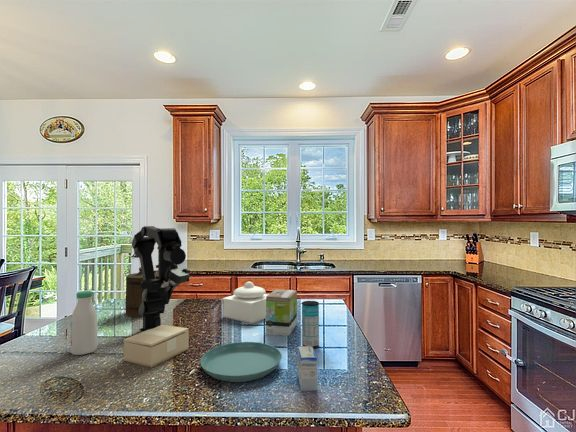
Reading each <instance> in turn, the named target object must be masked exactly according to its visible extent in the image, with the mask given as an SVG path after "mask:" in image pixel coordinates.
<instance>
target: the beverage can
mask: <svg viewBox="0 0 576 432" xmlns="http://www.w3.org/2000/svg"><path fill="white" fill-rule="evenodd" d="M319 304H320V303H319V301H316V300H305V301H302V302H301V333H302V334H301V343H302V344H301V345H302V347H305V346H309V347H313V349H315V348H318V347H319V344H320V305H319Z"/></svg>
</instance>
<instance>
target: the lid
mask: <svg viewBox="0 0 576 432" xmlns="http://www.w3.org/2000/svg"><path fill="white" fill-rule="evenodd" d="M185 331H189V328H188V327H182V326H173V325H166V324H161V326H158V327H155V328H153V329H150V330H146V331H141V332H139V333H137V334H135V335H132V336H129V337H127V338H124V339H123V342H124V341H125V342H131V343H137V344H143V345H149V346H153V345H155V344H158V343H160V342H162V341H165V340H167V339H169V338H172V337H174V336H176V335H178V334H181V333H183V332H185Z"/></svg>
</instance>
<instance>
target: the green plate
mask: <svg viewBox="0 0 576 432" xmlns="http://www.w3.org/2000/svg"><path fill="white" fill-rule="evenodd" d="M200 358H201V359H200V365H201V368H202V369H203V371H204V372H205V373H206V374H207V375H209V377H211V378H214V379H217V380H219V381H223V382H230V383H244V382H251V381H254V380H255V381H256V380H258V379H261V378H263V377H265V376H267V375H269V374H270V373H272V372H273V371H274V370H275V369H277V367H278V366H279V364H280V363H281V361H282V358H283V355H282V352H281V350H280V349H278V348H277V347H275V346H273V345H271V344H268V343H263V342H257V341H256V342H255V341H237V342H231V343H226V344H222V345H218V346H216V347H214V348H212V349H210V350H208V351H207V352H205V353H204V354H203V355H202V356H201V357H200Z"/></svg>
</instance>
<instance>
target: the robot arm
mask: <svg viewBox="0 0 576 432" xmlns="http://www.w3.org/2000/svg"><path fill="white" fill-rule="evenodd" d="M133 235H134V236H133V238H132V240H131V248H132V249H133V253H134V255H136V256H137V257H138V258H139V263H140V267H141V270H142V277H143V281H142V283H141V288H142V289H145V293H144V295H143V297H142V303H141V305H140V307H139V315H140V317H142V327H141V328H139V331H141V332H144V331H146V330H150V329H153V328H155V327H158V326H161V325H162V323H161V314H165V307H166V305H168V304H169V303H170V300H171V297H172V294H173V292H174V289H176V288H177V287H179V285H181V284H183V283H187V282H189V281H190V277H191V276H190V274H191V271H190V269H189V268H183V269H179V267H178V266H179V265H181V264H183V263H184V261H185V260H186V258H187V255H186V252H185V251H184V249H182V248H181V247H182V240H181V238H180V235H179V232H178V231H177V229H176V228H175V227H173V228H172V227H171V228H159V227H156V226H154V225H153V226H152V225H151V226H150V225H144V226H142V227H141V229H140V231H138V232H137V233H136V234H133ZM156 244H157V248H156V249H157V252H158V257H157V259H158V261H157V262H158V264H155V268H156V269H158V272H157V273H158V276H156V279H155V273H156V272H155V269H154V264H153V263H154V262H153V256H152V255H153V252H154V250H155V245H156ZM157 279H159V280H157Z"/></svg>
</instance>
